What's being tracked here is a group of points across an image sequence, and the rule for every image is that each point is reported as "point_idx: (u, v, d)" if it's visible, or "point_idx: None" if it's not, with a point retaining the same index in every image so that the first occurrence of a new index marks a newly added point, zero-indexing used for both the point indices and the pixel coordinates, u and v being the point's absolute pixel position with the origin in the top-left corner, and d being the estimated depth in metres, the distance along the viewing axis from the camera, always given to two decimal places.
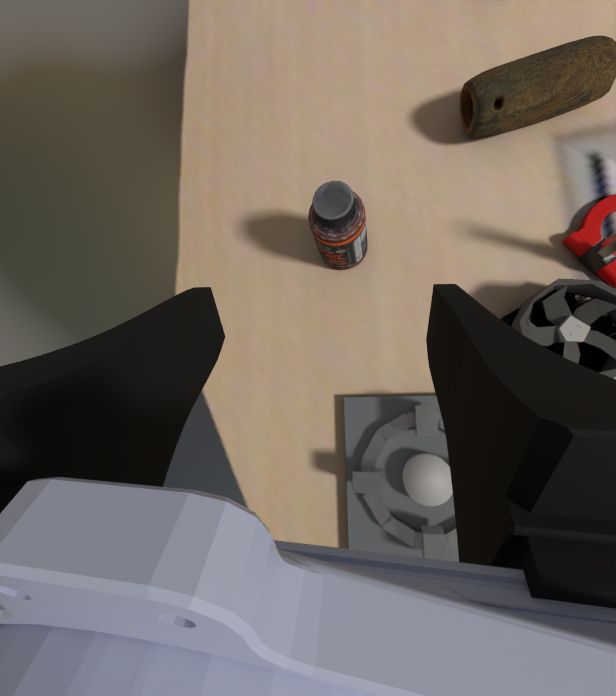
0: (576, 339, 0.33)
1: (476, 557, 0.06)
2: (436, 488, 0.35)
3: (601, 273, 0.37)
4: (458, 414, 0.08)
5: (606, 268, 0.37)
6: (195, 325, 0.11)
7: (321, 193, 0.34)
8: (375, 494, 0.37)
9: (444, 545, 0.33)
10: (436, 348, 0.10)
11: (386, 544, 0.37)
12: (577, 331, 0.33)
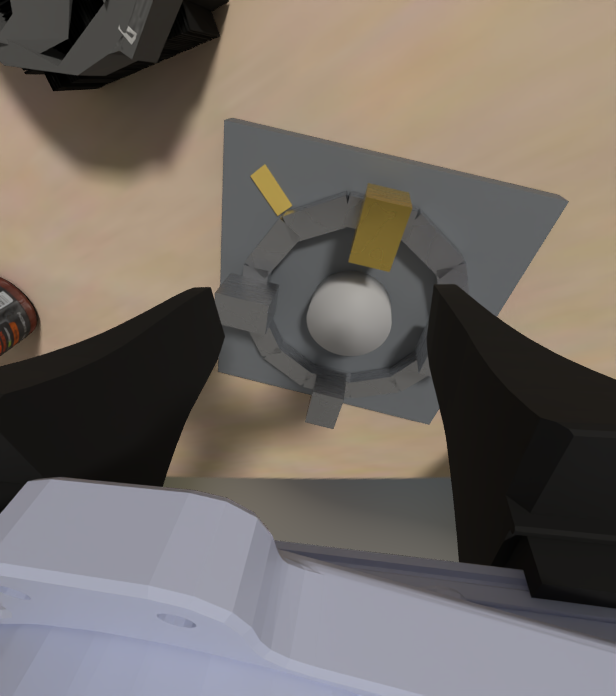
0: None
1: (476, 557, 0.06)
2: (364, 316, 0.20)
3: None
4: (458, 414, 0.08)
5: None
6: (195, 325, 0.11)
7: None
8: (353, 385, 0.25)
9: None
10: (436, 348, 0.10)
11: (430, 383, 0.25)
12: None
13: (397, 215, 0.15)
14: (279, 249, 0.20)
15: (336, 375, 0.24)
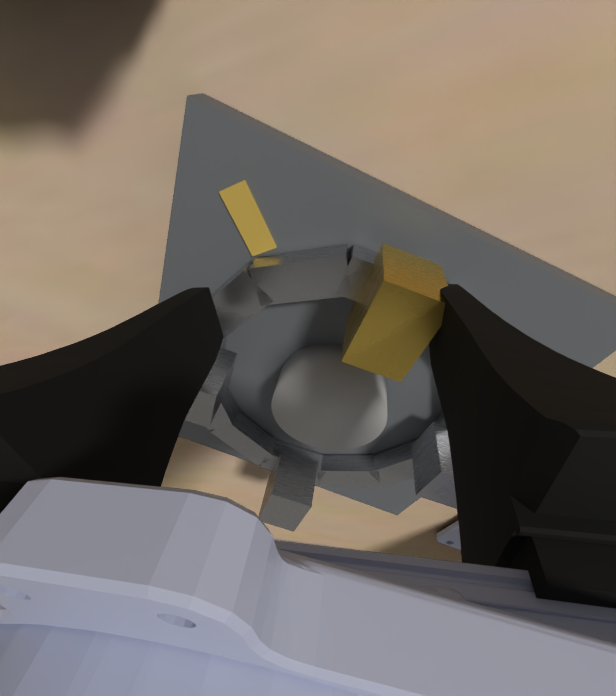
0: None
1: (479, 557, 0.06)
2: (351, 411, 0.15)
3: None
4: (461, 414, 0.08)
5: None
6: (193, 325, 0.11)
7: None
8: (325, 473, 0.19)
9: None
10: (438, 348, 0.10)
11: None
12: None
13: (428, 313, 0.09)
14: (240, 310, 0.13)
15: (304, 464, 0.18)
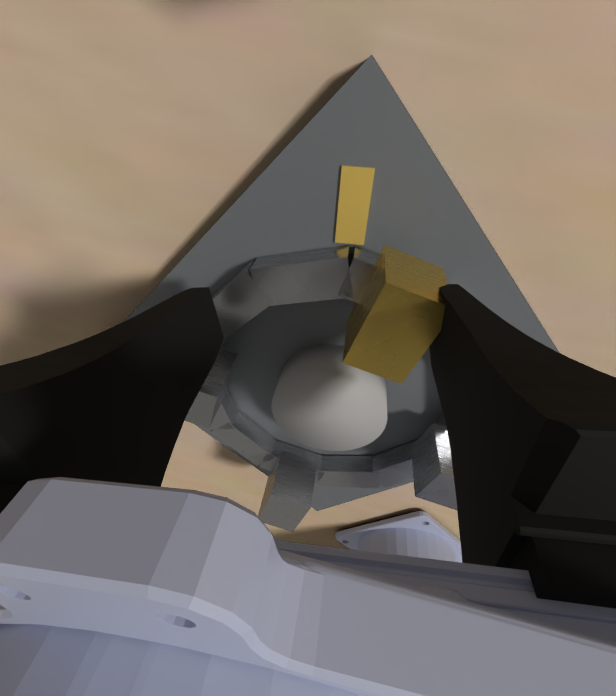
0: None
1: (480, 557, 0.06)
2: (352, 419, 0.15)
3: None
4: (461, 414, 0.08)
5: None
6: (193, 325, 0.11)
7: None
8: (324, 473, 0.19)
9: None
10: (439, 348, 0.10)
11: None
12: None
13: (430, 315, 0.09)
14: (240, 311, 0.13)
15: (304, 465, 0.18)
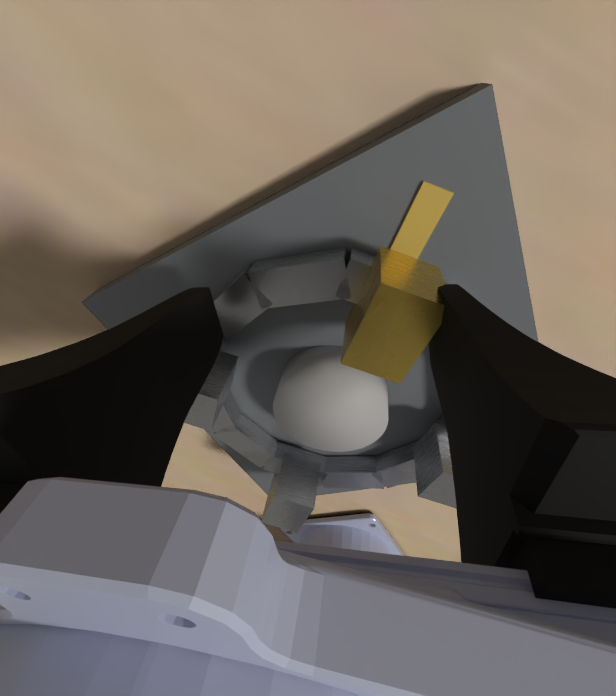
0: None
1: (479, 558, 0.06)
2: (351, 424, 0.15)
3: None
4: (460, 414, 0.08)
5: None
6: (194, 325, 0.11)
7: None
8: (327, 474, 0.19)
9: None
10: (438, 348, 0.10)
11: None
12: None
13: (426, 315, 0.09)
14: (240, 313, 0.13)
15: (306, 466, 0.18)
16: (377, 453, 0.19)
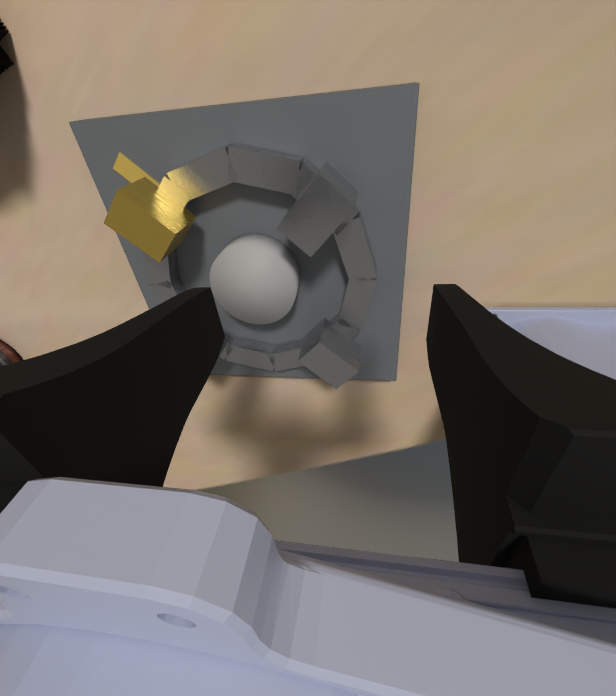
0: None
1: (476, 557, 0.06)
2: (263, 276, 0.19)
3: None
4: (458, 414, 0.08)
5: None
6: (195, 325, 0.11)
7: None
8: (343, 318, 0.21)
9: (291, 216, 0.15)
10: (436, 348, 0.10)
11: (375, 334, 0.23)
12: None
13: (122, 205, 0.16)
14: None
15: (316, 328, 0.21)
16: None
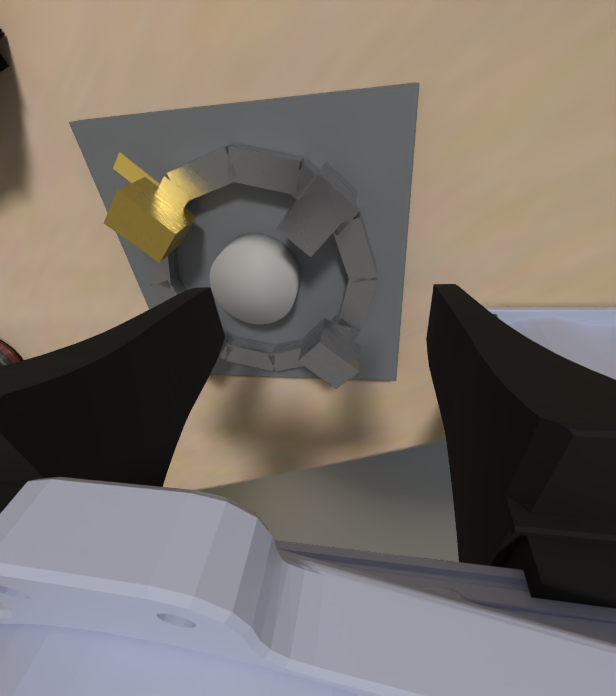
0: None
1: (476, 557, 0.06)
2: (263, 276, 0.19)
3: None
4: (458, 414, 0.08)
5: None
6: (195, 325, 0.11)
7: None
8: (343, 318, 0.21)
9: (291, 216, 0.15)
10: (436, 348, 0.10)
11: (375, 334, 0.23)
12: None
13: (122, 205, 0.16)
14: None
15: (316, 328, 0.21)
16: None
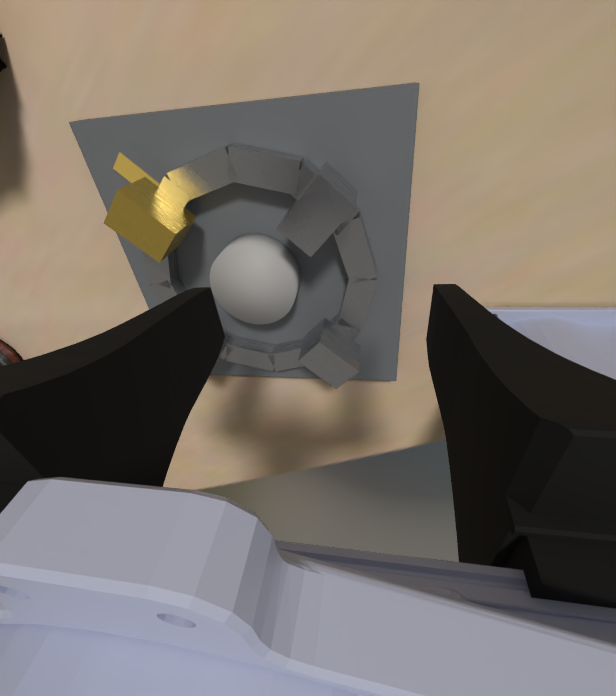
0: None
1: (476, 557, 0.06)
2: (263, 276, 0.19)
3: None
4: (458, 414, 0.08)
5: None
6: (195, 325, 0.11)
7: None
8: (343, 318, 0.21)
9: (291, 216, 0.15)
10: (436, 348, 0.10)
11: (375, 334, 0.23)
12: None
13: (122, 205, 0.16)
14: None
15: (316, 328, 0.21)
16: None
